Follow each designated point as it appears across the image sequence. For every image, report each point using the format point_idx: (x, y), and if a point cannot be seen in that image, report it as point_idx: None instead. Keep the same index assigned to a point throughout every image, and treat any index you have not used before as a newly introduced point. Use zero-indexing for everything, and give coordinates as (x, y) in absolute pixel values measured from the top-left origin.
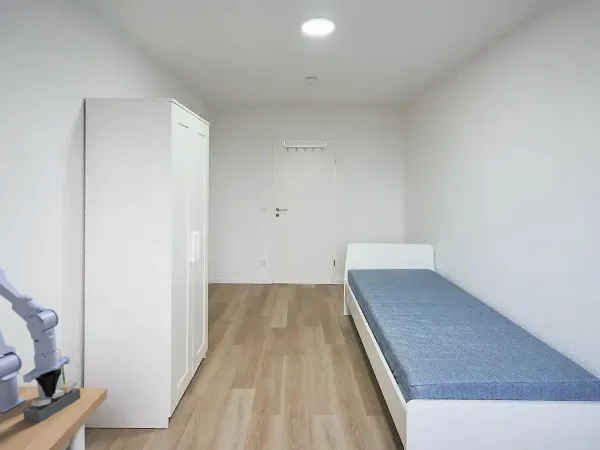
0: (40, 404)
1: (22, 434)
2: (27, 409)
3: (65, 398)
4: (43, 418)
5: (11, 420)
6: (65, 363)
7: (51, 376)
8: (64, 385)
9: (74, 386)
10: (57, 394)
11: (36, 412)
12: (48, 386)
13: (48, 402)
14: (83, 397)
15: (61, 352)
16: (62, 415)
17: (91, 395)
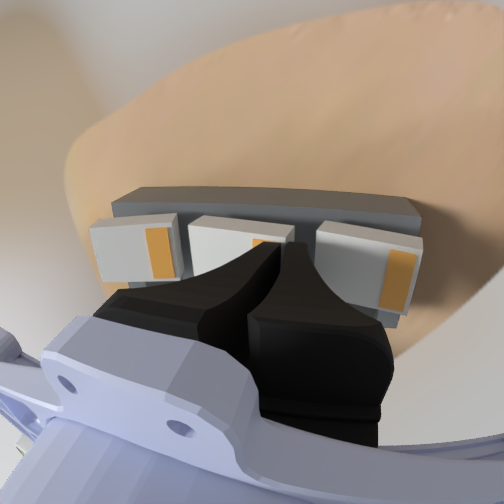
0: (408, 238)
1: (498, 200)
2: (389, 312)
3: (211, 200)
4: (385, 197)
5: (391, 342)
6: (21, 356)
7: (307, 326)
8: (144, 275)
9: (118, 218)
10: (250, 228)
11: (418, 235)
12: (326, 287)
13: (338, 226)
14: (132, 176)
15: (22, 434)
16: (316, 126)
17: (108, 154)
